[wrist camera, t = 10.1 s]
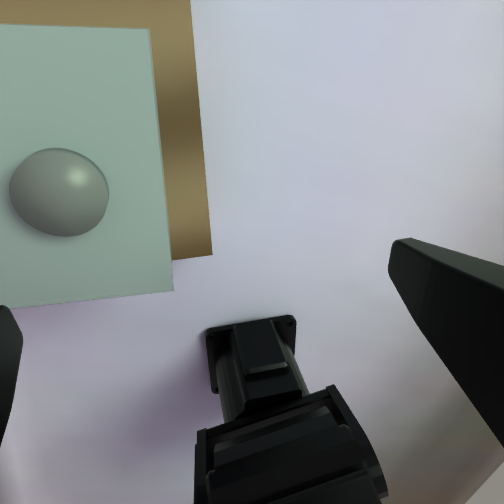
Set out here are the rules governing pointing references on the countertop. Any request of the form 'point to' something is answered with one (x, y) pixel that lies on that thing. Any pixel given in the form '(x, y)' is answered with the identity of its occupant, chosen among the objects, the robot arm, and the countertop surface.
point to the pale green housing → (80, 166)
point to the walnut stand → (167, 93)
